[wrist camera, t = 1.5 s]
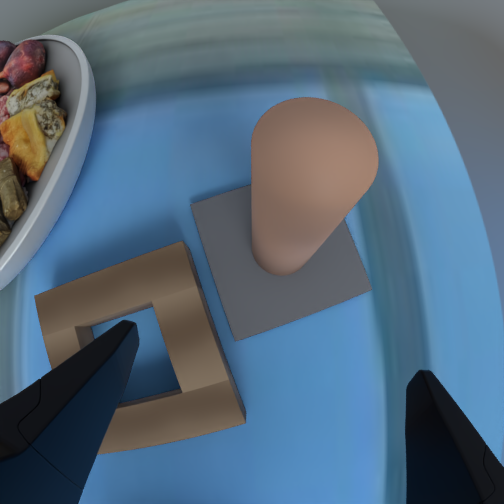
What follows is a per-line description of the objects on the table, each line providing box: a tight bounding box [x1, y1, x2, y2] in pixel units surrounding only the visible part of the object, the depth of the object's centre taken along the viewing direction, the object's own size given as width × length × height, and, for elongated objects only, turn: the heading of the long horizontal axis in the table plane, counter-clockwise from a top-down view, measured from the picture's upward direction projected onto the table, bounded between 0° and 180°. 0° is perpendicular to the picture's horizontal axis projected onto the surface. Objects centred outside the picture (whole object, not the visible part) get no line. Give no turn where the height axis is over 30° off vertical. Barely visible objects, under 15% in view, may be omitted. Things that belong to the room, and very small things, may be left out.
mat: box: [190, 184, 372, 341], centre depth 22 cm, size 10×10×1 cm
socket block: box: [34, 241, 246, 454], centre depth 20 cm, size 12×12×2 cm
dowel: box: [251, 97, 378, 276], centre depth 16 cm, size 4×4×13 cm
